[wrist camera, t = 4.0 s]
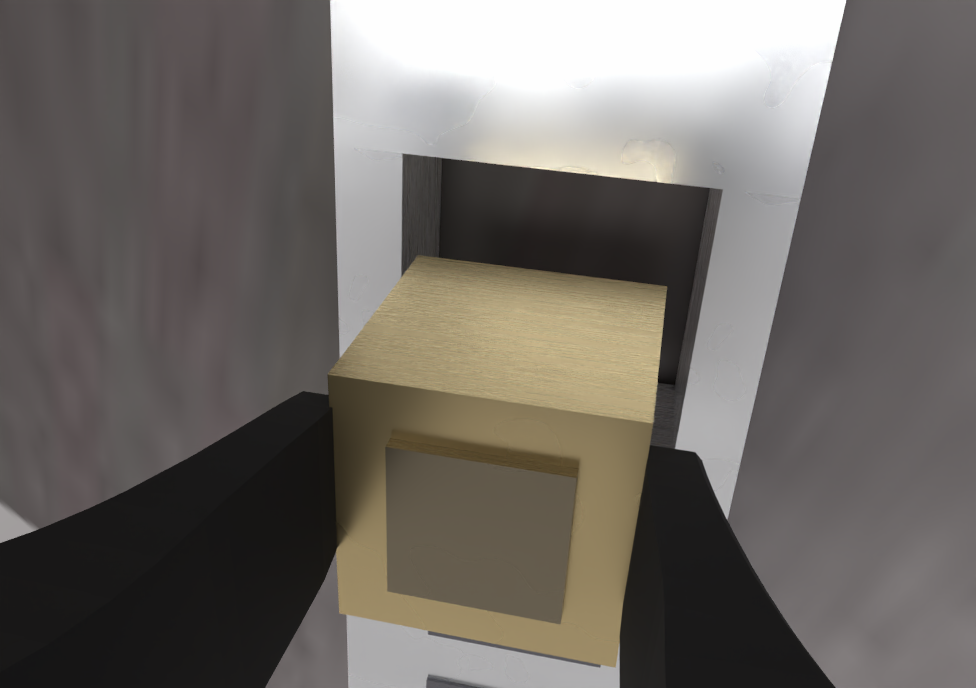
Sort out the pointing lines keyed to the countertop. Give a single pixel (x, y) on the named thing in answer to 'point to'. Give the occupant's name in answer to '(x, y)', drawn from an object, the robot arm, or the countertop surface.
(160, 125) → the countertop surface
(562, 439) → the block
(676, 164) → the grey board with holes
